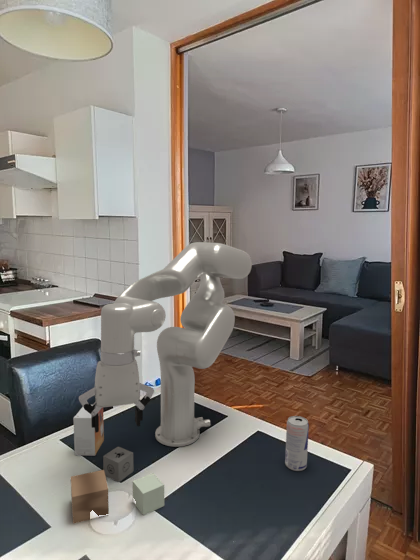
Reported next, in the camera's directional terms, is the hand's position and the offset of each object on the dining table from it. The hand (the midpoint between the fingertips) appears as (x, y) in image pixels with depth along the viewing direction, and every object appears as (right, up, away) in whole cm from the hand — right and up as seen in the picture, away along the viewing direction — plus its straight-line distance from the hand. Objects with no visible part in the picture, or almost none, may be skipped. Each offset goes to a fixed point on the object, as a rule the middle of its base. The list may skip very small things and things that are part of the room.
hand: (117, 426), depth 95 cm
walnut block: (-4, -14, -10) cm, 17 cm away
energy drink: (+44, -12, +6) cm, 46 cm away
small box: (-10, -11, +13) cm, 20 cm away
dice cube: (0, -12, +2) cm, 13 cm away
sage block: (+9, -14, -8) cm, 18 cm away
